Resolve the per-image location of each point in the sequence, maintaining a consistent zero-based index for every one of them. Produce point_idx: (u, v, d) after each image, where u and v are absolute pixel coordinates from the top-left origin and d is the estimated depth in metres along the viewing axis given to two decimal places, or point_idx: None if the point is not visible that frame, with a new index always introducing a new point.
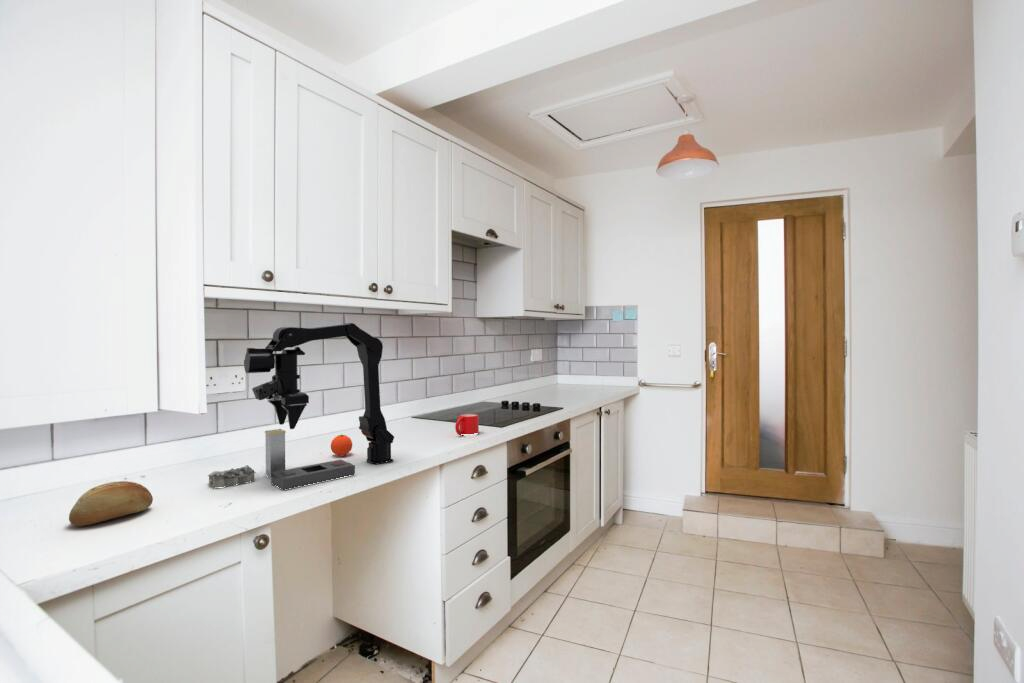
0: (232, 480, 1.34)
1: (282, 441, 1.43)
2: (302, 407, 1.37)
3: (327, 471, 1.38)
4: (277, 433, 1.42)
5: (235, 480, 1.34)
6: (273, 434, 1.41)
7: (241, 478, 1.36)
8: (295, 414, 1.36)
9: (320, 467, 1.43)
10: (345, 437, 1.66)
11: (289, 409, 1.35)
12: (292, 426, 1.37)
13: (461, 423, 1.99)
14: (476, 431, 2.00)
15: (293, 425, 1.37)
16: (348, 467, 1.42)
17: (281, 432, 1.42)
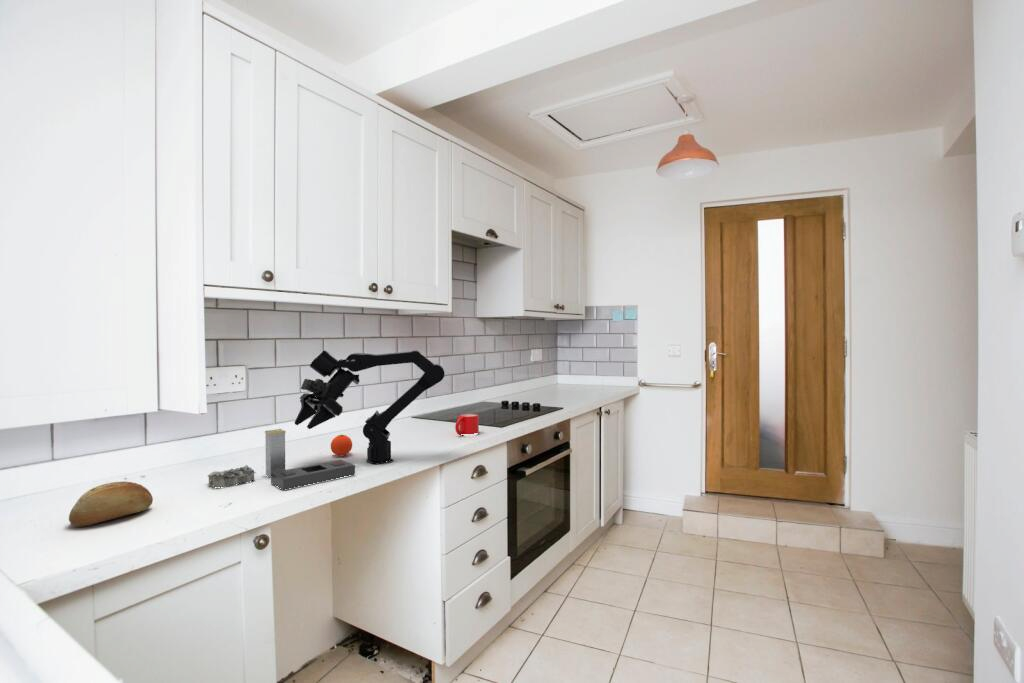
0: (233, 480, 1.34)
1: (282, 441, 1.43)
2: (329, 417, 1.48)
3: (327, 471, 1.38)
4: (277, 433, 1.42)
5: (235, 480, 1.34)
6: (273, 434, 1.41)
7: (241, 478, 1.36)
8: (320, 418, 1.47)
9: (320, 467, 1.43)
10: (345, 437, 1.66)
11: (321, 410, 1.46)
12: (310, 426, 1.45)
13: (461, 423, 1.99)
14: (476, 431, 2.00)
15: (311, 425, 1.45)
16: (348, 467, 1.42)
17: (281, 432, 1.42)
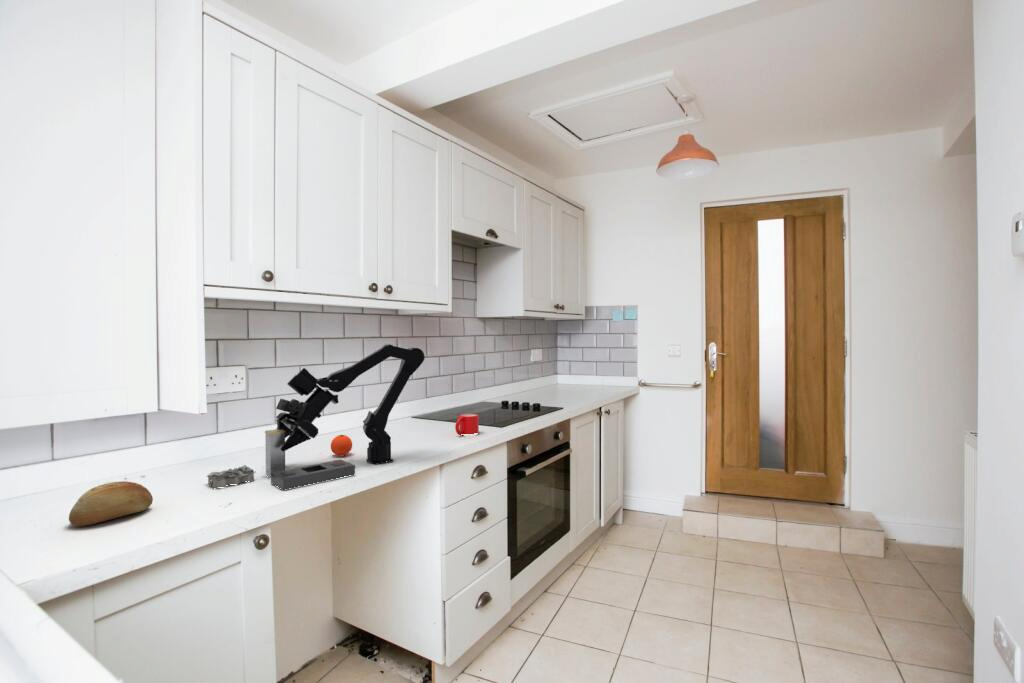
0: (233, 480, 1.35)
1: (282, 441, 1.43)
2: (304, 439, 1.43)
3: (327, 471, 1.38)
4: (277, 433, 1.42)
5: (236, 479, 1.35)
6: (273, 434, 1.41)
7: (241, 478, 1.37)
8: (295, 440, 1.42)
9: (320, 467, 1.43)
10: (345, 437, 1.66)
11: (295, 432, 1.41)
12: (283, 448, 1.40)
13: (461, 423, 1.99)
14: (476, 431, 2.00)
15: (285, 448, 1.40)
16: (348, 467, 1.42)
17: (281, 432, 1.42)
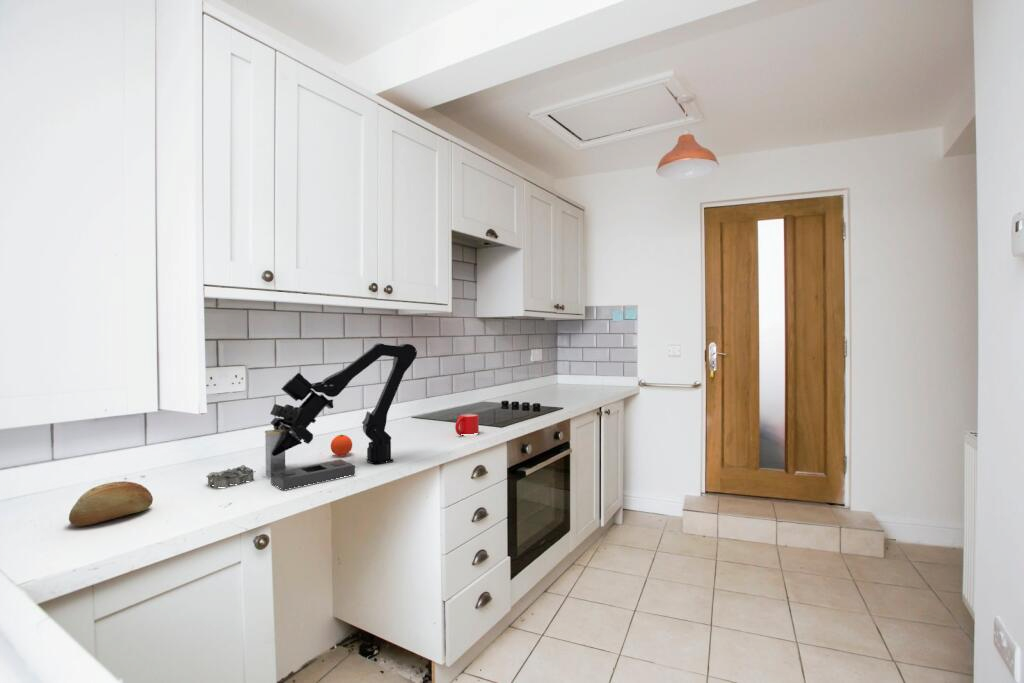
0: (234, 480, 1.35)
1: None
2: (296, 443, 1.43)
3: (327, 471, 1.38)
4: (277, 433, 1.42)
5: (236, 479, 1.35)
6: (273, 434, 1.41)
7: (241, 477, 1.37)
8: (286, 445, 1.42)
9: (320, 467, 1.43)
10: (345, 437, 1.66)
11: (286, 437, 1.42)
12: (275, 453, 1.41)
13: (461, 423, 1.99)
14: (476, 431, 2.00)
15: (276, 452, 1.41)
16: (348, 467, 1.42)
17: (281, 432, 1.42)
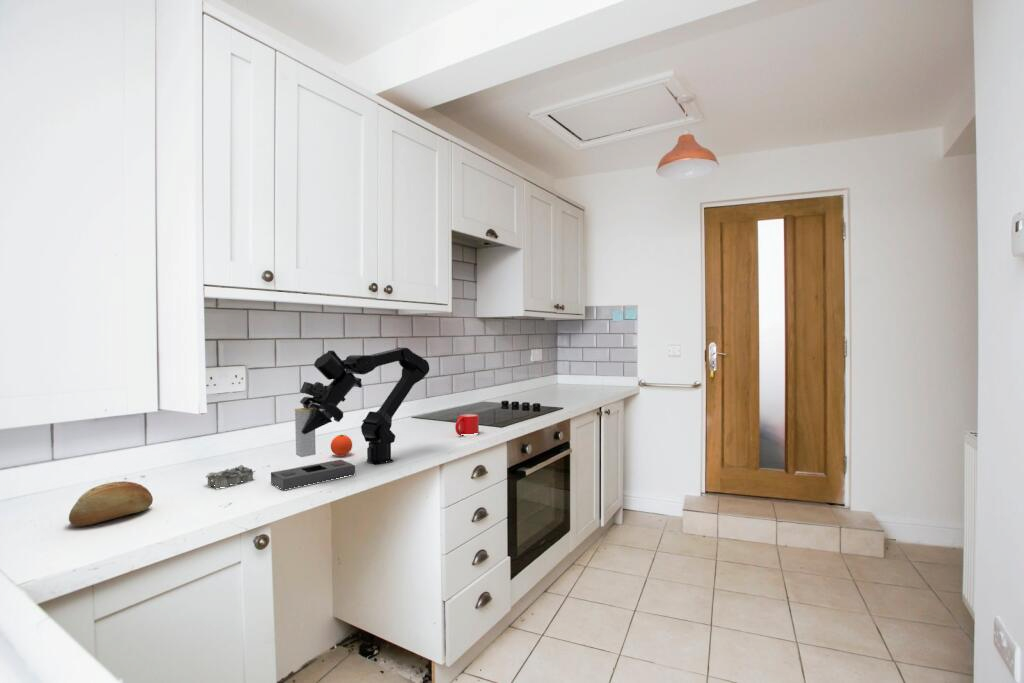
0: (234, 479, 1.35)
1: None
2: (326, 421, 1.40)
3: (327, 471, 1.38)
4: (307, 411, 1.39)
5: (237, 479, 1.35)
6: (303, 412, 1.38)
7: (241, 477, 1.37)
8: (316, 423, 1.39)
9: (320, 467, 1.43)
10: (345, 437, 1.66)
11: (317, 415, 1.39)
12: (305, 431, 1.38)
13: (461, 423, 1.99)
14: (476, 431, 2.00)
15: (307, 430, 1.38)
16: (348, 467, 1.42)
17: (311, 410, 1.40)
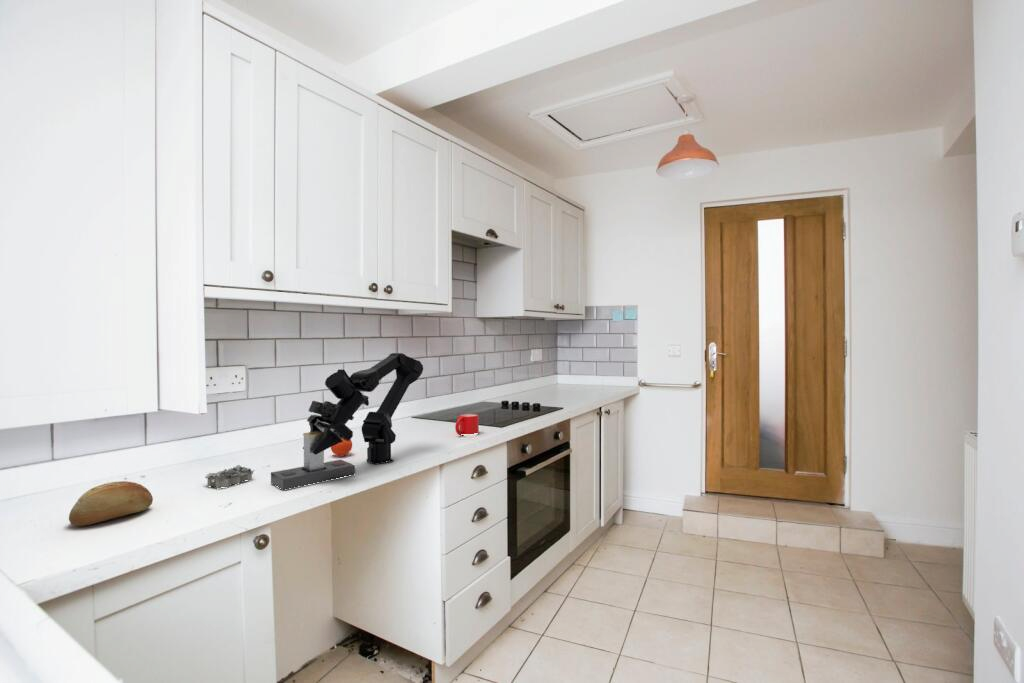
0: (235, 479, 1.35)
1: None
2: (337, 441, 1.39)
3: (327, 471, 1.38)
4: (316, 435, 1.38)
5: (238, 479, 1.35)
6: (312, 437, 1.37)
7: (241, 477, 1.37)
8: (327, 443, 1.38)
9: None
10: None
11: (328, 435, 1.37)
12: (316, 451, 1.36)
13: (461, 423, 1.99)
14: (476, 431, 2.00)
15: (317, 451, 1.37)
16: (348, 467, 1.42)
17: (320, 435, 1.39)
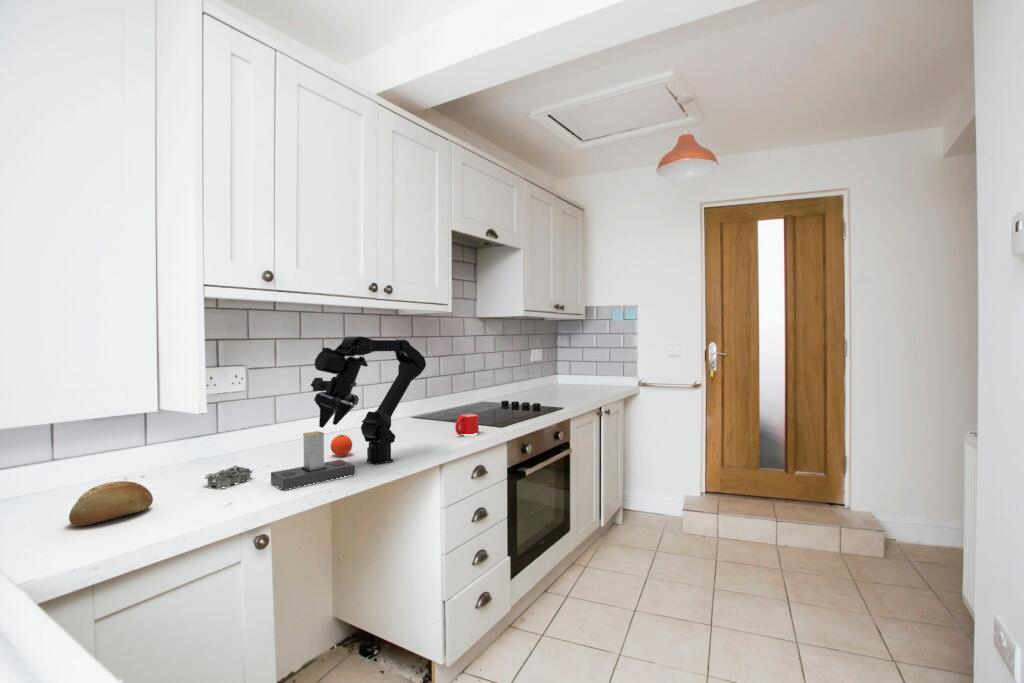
0: (235, 479, 1.35)
1: (321, 444, 1.39)
2: (332, 410, 1.42)
3: (327, 471, 1.38)
4: (316, 436, 1.38)
5: (238, 478, 1.36)
6: (312, 437, 1.37)
7: (241, 477, 1.38)
8: (325, 414, 1.43)
9: None
10: (345, 437, 1.66)
11: (321, 407, 1.43)
12: (321, 425, 1.44)
13: (461, 423, 1.99)
14: (476, 431, 2.00)
15: (322, 424, 1.44)
16: (348, 467, 1.42)
17: (320, 435, 1.39)
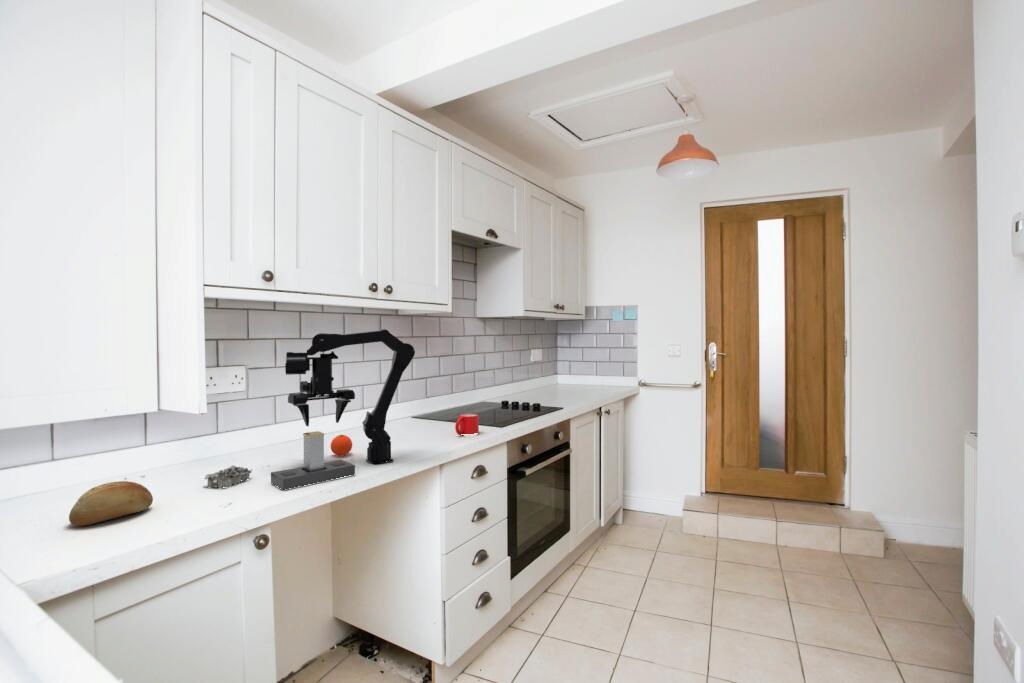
0: (236, 479, 1.35)
1: (321, 444, 1.39)
2: None
3: (327, 471, 1.38)
4: (316, 436, 1.38)
5: (239, 478, 1.36)
6: (312, 437, 1.37)
7: (240, 476, 1.38)
8: (303, 413, 1.49)
9: None
10: (345, 437, 1.66)
11: (299, 407, 1.50)
12: None
13: (461, 423, 1.99)
14: (476, 431, 2.00)
15: (305, 423, 1.50)
16: (348, 467, 1.42)
17: (320, 435, 1.39)
